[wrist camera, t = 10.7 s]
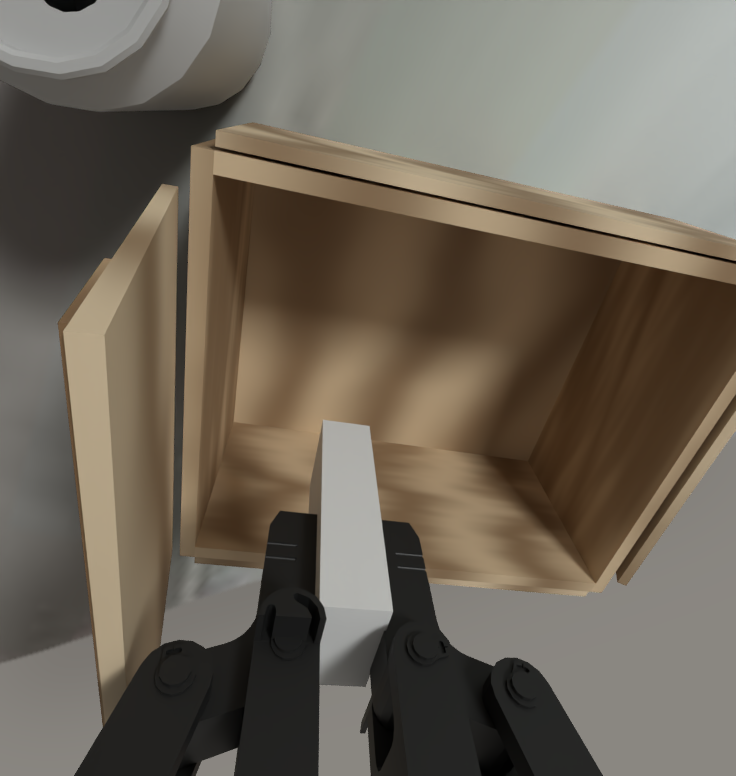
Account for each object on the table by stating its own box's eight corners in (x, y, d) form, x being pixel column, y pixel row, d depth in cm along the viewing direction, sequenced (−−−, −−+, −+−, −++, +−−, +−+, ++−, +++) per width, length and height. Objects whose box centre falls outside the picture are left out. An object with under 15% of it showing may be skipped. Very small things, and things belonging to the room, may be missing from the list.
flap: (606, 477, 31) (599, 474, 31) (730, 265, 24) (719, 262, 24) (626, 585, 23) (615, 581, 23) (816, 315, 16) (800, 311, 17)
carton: (223, 431, 30) (179, 565, 21) (248, 117, 21) (191, 125, 13) (526, 470, 33) (596, 600, 24) (649, 210, 24) (822, 266, 16)
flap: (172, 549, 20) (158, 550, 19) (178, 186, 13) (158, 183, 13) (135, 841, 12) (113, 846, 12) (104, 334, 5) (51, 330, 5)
